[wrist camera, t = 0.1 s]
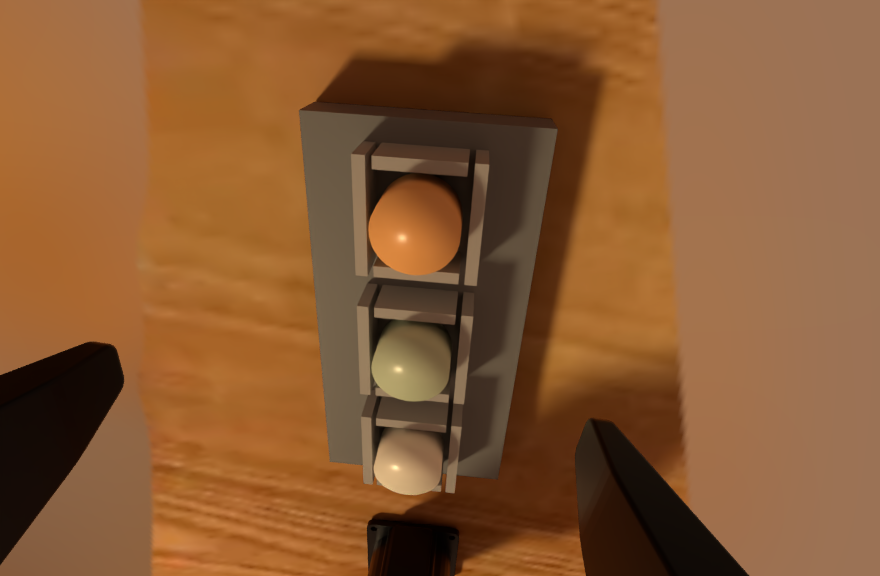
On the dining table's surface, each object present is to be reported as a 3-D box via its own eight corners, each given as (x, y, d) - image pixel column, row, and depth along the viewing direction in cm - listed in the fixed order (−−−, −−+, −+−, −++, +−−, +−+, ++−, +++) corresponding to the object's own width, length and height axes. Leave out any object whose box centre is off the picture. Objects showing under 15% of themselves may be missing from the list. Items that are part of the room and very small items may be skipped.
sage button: (449, 375, 24) (446, 405, 22) (380, 369, 24) (372, 397, 22) (454, 317, 22) (451, 344, 20) (380, 310, 22) (370, 336, 20)
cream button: (442, 466, 27) (439, 498, 25) (381, 460, 27) (374, 491, 25) (445, 422, 25) (442, 452, 23) (380, 415, 25) (373, 445, 23)
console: (497, 452, 30) (498, 509, 27) (338, 436, 31) (320, 490, 27) (551, 118, 20) (565, 141, 17) (314, 101, 21) (280, 120, 17)
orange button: (459, 255, 20) (456, 279, 19) (379, 249, 20) (369, 271, 19) (466, 176, 19) (464, 193, 17) (378, 169, 19) (367, 185, 17)
